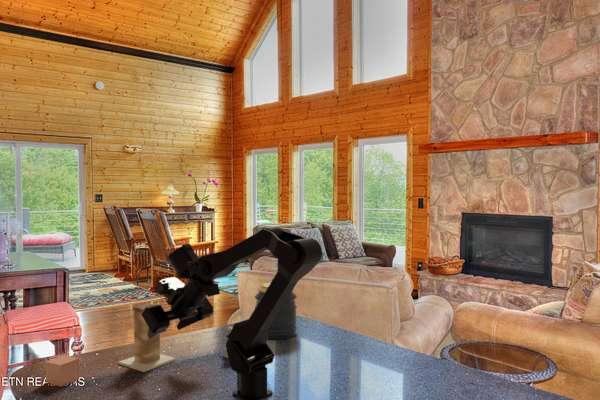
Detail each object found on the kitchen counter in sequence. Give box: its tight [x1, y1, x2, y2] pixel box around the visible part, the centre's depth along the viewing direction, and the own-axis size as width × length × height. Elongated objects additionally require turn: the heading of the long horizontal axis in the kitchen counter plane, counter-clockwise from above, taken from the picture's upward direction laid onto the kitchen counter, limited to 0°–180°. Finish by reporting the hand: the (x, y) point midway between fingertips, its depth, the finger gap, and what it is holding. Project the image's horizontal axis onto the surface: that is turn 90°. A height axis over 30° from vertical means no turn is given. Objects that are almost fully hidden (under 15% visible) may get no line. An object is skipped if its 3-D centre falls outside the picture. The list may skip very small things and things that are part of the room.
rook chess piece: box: [222, 324, 234, 360], centre depth 133 cm, size 4×4×8 cm
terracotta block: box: [45, 355, 80, 387], centre depth 116 cm, size 5×5×5 cm
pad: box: [118, 353, 176, 373], centre depth 128 cm, size 10×10×1 cm
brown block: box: [132, 302, 161, 364], centre depth 128 cm, size 5×5×14 cm
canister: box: [254, 278, 298, 341], centre depth 152 cm, size 13×13×18 cm
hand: (163, 332), depth 124 cm, fingers open, 9 cm apart
